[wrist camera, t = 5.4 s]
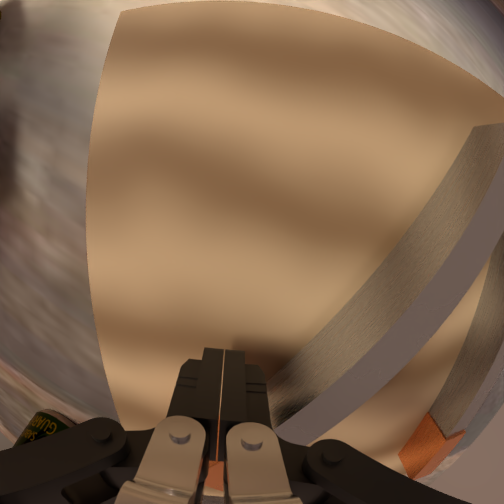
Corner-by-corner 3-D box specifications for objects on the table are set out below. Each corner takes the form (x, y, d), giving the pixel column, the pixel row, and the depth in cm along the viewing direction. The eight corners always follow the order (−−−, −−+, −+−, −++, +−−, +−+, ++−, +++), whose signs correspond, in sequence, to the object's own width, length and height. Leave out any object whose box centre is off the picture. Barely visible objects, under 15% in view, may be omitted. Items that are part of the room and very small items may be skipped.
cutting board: (132, 25, 8) (120, 11, 7) (518, 124, 10) (532, 123, 8) (150, 471, 16) (146, 484, 14) (410, 460, 17) (415, 470, 15)
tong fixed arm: (498, 204, 9) (539, 212, 7) (514, 210, 10) (551, 219, 7) (397, 454, 14) (410, 481, 11) (417, 448, 14) (430, 473, 11)
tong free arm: (484, 96, 8) (527, 87, 5) (519, 159, 8) (559, 162, 5) (194, 432, 12) (187, 481, 8) (257, 458, 12) (259, 502, 9)
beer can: (103, 450, 15) (62, 557, 3) (65, 446, 15) (23, 533, 4) (62, 406, 14) (-3, 518, 2) (29, 405, 14) (-30, 492, 2)
